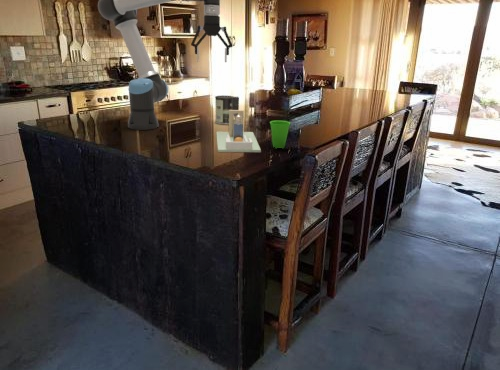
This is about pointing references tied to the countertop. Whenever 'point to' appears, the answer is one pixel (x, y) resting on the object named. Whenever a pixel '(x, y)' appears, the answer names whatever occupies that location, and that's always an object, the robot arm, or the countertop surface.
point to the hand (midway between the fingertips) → (211, 61)
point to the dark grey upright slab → (237, 119)
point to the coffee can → (223, 109)
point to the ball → (238, 139)
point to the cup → (279, 133)
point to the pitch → (226, 138)
